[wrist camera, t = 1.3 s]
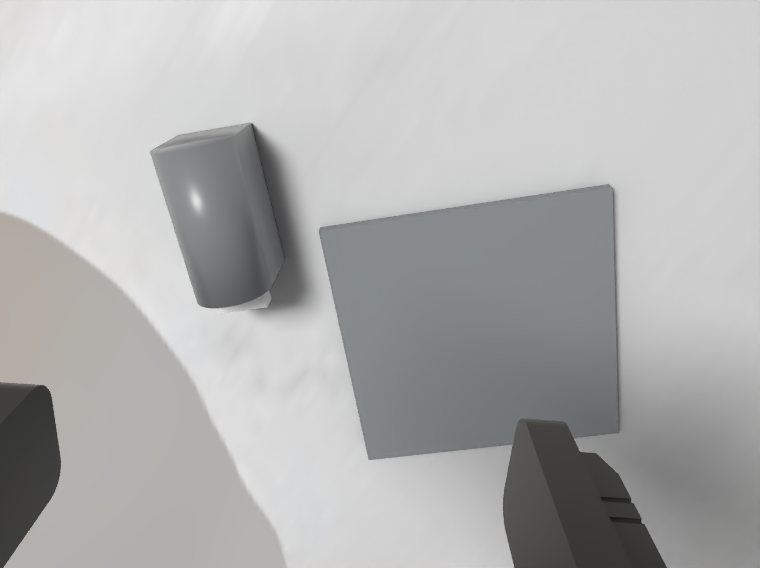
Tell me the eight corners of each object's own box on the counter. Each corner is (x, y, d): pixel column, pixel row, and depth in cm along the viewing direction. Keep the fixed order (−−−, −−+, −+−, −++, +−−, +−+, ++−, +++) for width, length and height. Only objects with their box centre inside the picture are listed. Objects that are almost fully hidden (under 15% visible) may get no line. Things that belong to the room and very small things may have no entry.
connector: (251, 122, 30) (222, 144, 25) (290, 281, 33) (271, 326, 28) (178, 135, 30) (136, 158, 25) (223, 291, 33) (194, 336, 29)
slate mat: (608, 184, 30) (612, 187, 29) (615, 426, 35) (618, 432, 35) (320, 227, 31) (318, 231, 31) (369, 453, 37) (368, 459, 36)
